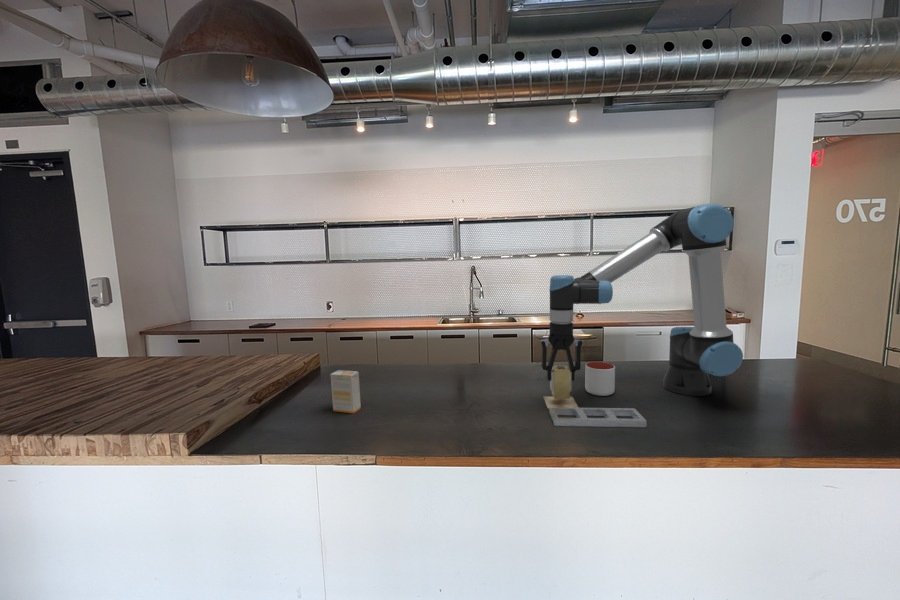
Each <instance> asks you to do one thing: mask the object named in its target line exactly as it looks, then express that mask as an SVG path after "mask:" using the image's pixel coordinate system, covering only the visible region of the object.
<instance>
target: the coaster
mask: <svg viewBox="0 0 900 600" xmlns="http://www.w3.org/2000/svg"><path fill="white" fill-rule="evenodd" d="M542 397H543V400H544V402H545V406H546V407H547V409H548V410H550V407H565V408H580V407H579V406H578V404H577V402H576V400H575V399H574V397H573V396H570V399H554V397H553V396H542Z"/></svg>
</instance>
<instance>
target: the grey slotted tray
mask: <svg viewBox="0 0 900 600" xmlns="http://www.w3.org/2000/svg"><path fill="white" fill-rule="evenodd" d="M549 415H550V418H551V421H552V423H553V425H554V426H555V427H594V428H595V427H599V428H601V427H602V428H603V427H604V428H605V427H606V428H609V427H610V428H647V426H648V425H647V424H648V423H647V421H648V420H646V419H645V417H643V416H642V414H641V413H640V412H639V411H638V410H637V409H636V408H632V407H631V408H628V407H623V408H622V407H621V408H620V407H579V408H565V407H550V409H549ZM559 416H575V417H559ZM589 416H591V417H589ZM594 416H597V417H594ZM599 416H600V417H601V418H600V417H599ZM602 416H603V417H602ZM618 417H632V418H618Z"/></svg>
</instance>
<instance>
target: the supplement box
mask: <svg viewBox="0 0 900 600" xmlns="http://www.w3.org/2000/svg"><path fill="white" fill-rule="evenodd" d="M359 375H360V374H359V371H355V370H354V371H353V370H342V369H338V370H336V371H334V372H332V373H330V382H331V383H330V385H331V386H330V388H331V399H332V411H333V412H339V413H346V414H347V413H348V414H355V413H357V412H358V411H360V410H361V407H362V406H361V405H362V404H361V391H360V377H359Z"/></svg>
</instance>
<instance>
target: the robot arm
mask: <svg viewBox="0 0 900 600" xmlns="http://www.w3.org/2000/svg"><path fill="white" fill-rule="evenodd" d="M734 222H735V221H734V217H733V215H732V213H731V212H730V211H729V209H727V208H725V207H724V206H723V205H720V204H716V203H707V204H704V203H703V204H700V205H697V206H692V207H689V208H683V209H679V210H677V211H676V212H674V213H672V214H671V215H670V216H668V217H667V218H665V219H663V220H662V221H661V222H660V223H658V224H656V225H655V226H653V227H652V228H650V229H649V232H648V234H646V235H644V236H643V237H641V238H639V239H638V240H636V241H635V242H634V243H632V244H631V245H629V246H627V247H625V248H624V249H623V250H621V251H619V252H618V253H616V254H615V255H613V256H611V257H610V258H608V259H606V260H605V261H604V262H602V263H601V264H599V265H598V266H596V267H594V268H593V269H591V270H589V271H588V272H587V273H585V274H583V275H581V276H580V277H575V278H574V275H568V274H567V275H566V274H565V275H564V274H563V275H561V274H558V275H557V274H556V275H552V276H551V277H550V280H549V281H550V282H549V321H550V322H549V331H548V332H549V334H548V336H547V338H546V339H540V341H539V342H540V344H541V345H540V346H541V368H542V370H544V371H546V379H547V381H549V389H550V391H551V392H552V391H554V372H553V370H552V367H553V365H554V363H555V360H556V357H557V354H558V351H560V350H562V351H564V352H565V356H566V359H567V363H568V368H569V369H570V392H572V381H573V382H575V373H576V371H580V370H581V365H582V364H581V362H582V361H581V357H582V355H581V349H582V345H583V341H582V340H581V339H576V338H575V337H574V323H573V322H574V305H579V304H581V305H582V304H583V305H585V304H587V305H590V304H591V305H593V304H594V305H595V304H596V305H597V304H598V305H601V304H603V305H604V304H609V303H610V302H611V301H612V300H613V296H614V295H613V293H614V292H613V290H614V289H613V285H612V283H613V282H615V281H616V280H618V279H620V278H621V277H623V276H624V275H627V274H628V273H629V272H630V271H632V270H634V269H636V268H637V267H639V266H640V265H642V264H643V263H645V262H647V261H648V260H650V259H651V258H653V257H655V256H656V255H658V254H660V253H661V252H668V251H670V250H672V249H673V248H675V247H678V246H682V253H685V254H686V255H687V256H688V266H689V267H688V268H689V276H690V277H689V278H690V290H691V301H692V302H691V303H692V314H693V325H694V326H675V327H672V328H671V329H670V335H669V358H668V359H669V360H668V362H669V363H668V367H667V370H666V372H665V374H664V377H663V379H662V387H663V388H664V389H665V390H667V391H669V392H671V393H672V392H673V393H675V394H679V395H684V396H685V395H686V396H692V397H703V396H704V397H705V396H709V395H710V394H712V384H711V381H710V378H709V375H712V376H716V377H724V376H725V377H726V376H728V375H729V376H730V375H731V374H733V373H735V371H737V369H739V368H740V367H741V365H742V362H743V361H744V360H743V358H744V354H743V350H742V349H741V347H740V346H738V345H737V343H734V333H733V330H732V329H729V328H728V326H727V318H726V317H727V315H726V303H725V301H726V300H725V289H724V275H723V264H722V262H723V261H722V260H723V259H722V251H723V250H724V249H725V248H727V238H728V237H729V236H730V234H731V233H732V232H733V230H734V225H735V223H734ZM549 344H550V345H551V346H552V347H551V351H550V356H549V359H548V362H547V356H548V355H547V353H548V352H547V350H548V348H547V346H549ZM572 345H574V360H573V357H572V353H571V348H570V347H571V346H572Z"/></svg>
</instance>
